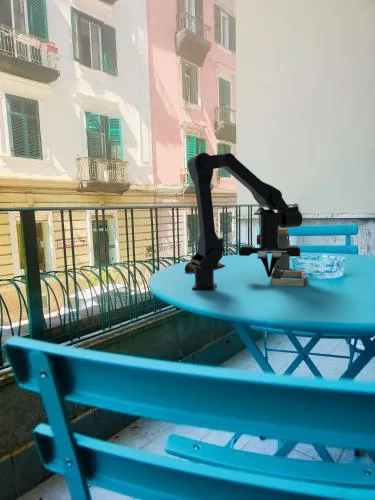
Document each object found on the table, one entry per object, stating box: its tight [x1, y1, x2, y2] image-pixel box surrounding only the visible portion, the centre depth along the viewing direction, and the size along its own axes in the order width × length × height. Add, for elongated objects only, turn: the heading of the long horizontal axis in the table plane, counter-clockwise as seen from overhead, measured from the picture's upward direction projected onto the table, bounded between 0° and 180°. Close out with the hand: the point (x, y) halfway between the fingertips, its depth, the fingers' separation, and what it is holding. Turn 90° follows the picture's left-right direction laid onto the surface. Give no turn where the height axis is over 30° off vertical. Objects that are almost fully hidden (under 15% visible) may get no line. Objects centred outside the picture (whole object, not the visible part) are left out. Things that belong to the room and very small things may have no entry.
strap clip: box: [271, 266, 285, 279], centre depth 117 cm, size 8×3×4 cm, turn 175°
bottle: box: [273, 227, 291, 271], centre depth 135 cm, size 6×6×15 cm
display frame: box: [271, 269, 308, 287], centre depth 116 cm, size 14×10×2 cm
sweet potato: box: [184, 261, 226, 274], centre depth 140 cm, size 18×7×7 cm, turn 147°
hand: (269, 277), depth 117 cm, fingers closed
